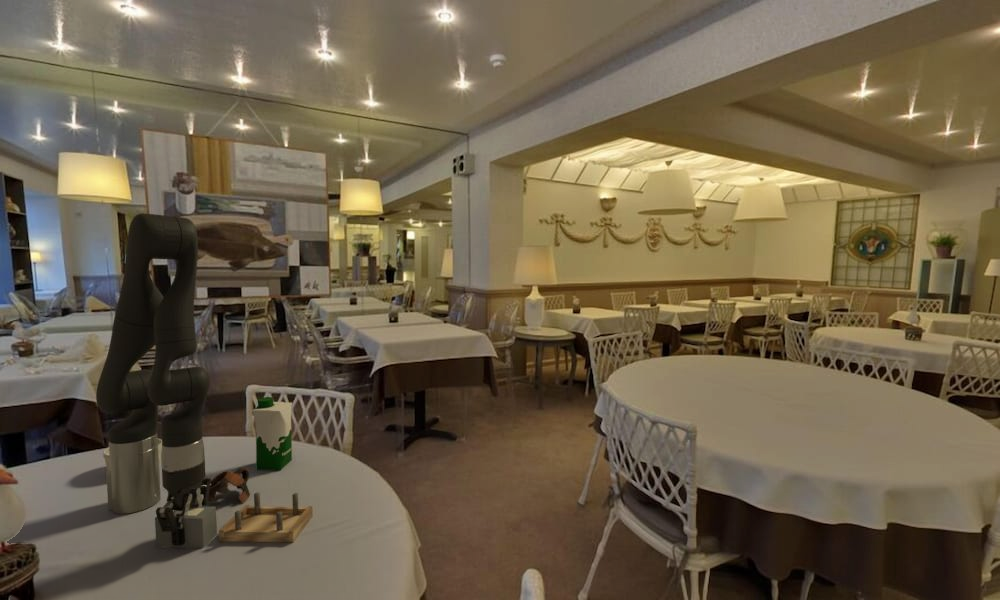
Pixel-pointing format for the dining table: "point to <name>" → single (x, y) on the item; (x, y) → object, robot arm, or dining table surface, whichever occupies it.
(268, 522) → the pin tray
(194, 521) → the block
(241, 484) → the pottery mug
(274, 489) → the dining table surface
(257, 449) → the milk carton
